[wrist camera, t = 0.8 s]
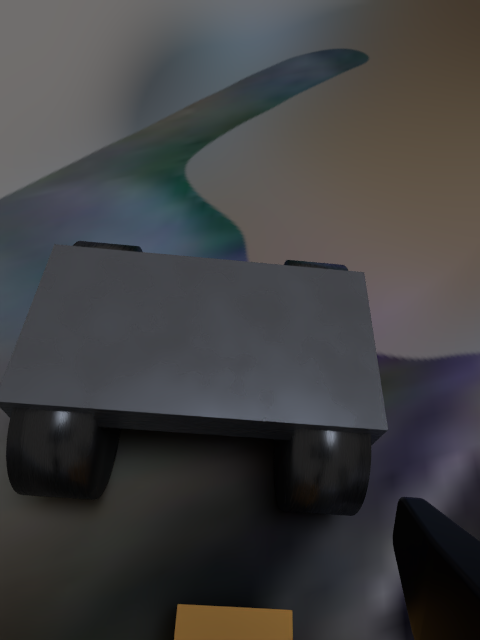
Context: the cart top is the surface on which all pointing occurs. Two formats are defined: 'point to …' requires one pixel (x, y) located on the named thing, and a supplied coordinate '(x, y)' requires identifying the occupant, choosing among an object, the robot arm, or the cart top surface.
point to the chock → (232, 623)
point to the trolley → (194, 369)
